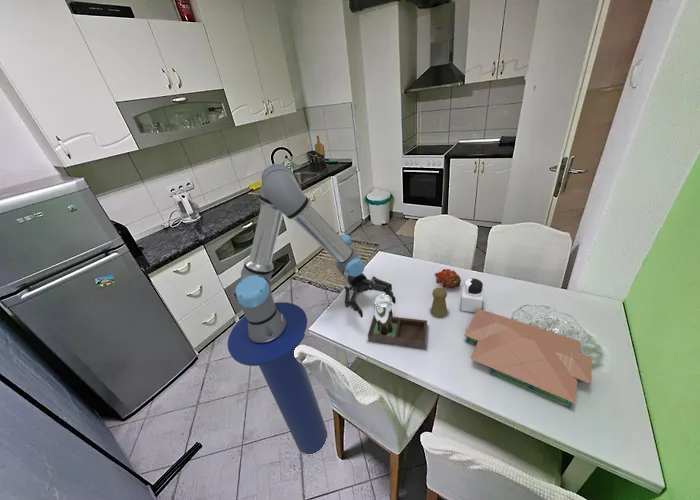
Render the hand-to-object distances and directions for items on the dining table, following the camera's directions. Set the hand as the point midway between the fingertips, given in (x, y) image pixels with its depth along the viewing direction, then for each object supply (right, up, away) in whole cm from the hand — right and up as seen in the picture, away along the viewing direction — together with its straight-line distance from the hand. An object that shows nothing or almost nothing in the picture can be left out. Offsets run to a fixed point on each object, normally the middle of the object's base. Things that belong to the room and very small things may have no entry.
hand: (378, 307), depth 101 cm
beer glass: (+3, -9, +2) cm, 10 cm away
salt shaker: (+24, -3, +7) cm, 26 cm away
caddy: (+7, -10, +1) cm, 12 cm away
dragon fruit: (+32, +5, +20) cm, 38 cm away
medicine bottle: (+37, -1, +8) cm, 38 cm away
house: (+44, -13, -13) cm, 47 cm away
